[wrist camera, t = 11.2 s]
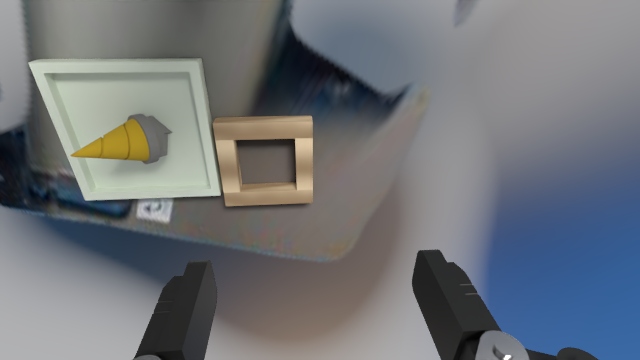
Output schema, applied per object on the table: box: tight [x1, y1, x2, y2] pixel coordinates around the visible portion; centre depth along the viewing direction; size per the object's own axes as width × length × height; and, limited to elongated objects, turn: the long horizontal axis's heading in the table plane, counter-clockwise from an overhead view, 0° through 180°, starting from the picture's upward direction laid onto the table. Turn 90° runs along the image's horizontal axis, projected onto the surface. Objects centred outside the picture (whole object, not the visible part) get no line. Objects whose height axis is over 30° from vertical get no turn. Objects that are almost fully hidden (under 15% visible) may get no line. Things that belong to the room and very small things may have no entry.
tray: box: [28, 58, 223, 201], centre depth 38 cm, size 16×16×2 cm
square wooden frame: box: [213, 116, 313, 206], centre depth 41 cm, size 11×11×2 cm
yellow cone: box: [70, 114, 173, 164], centre depth 35 cm, size 5×5×10 cm
